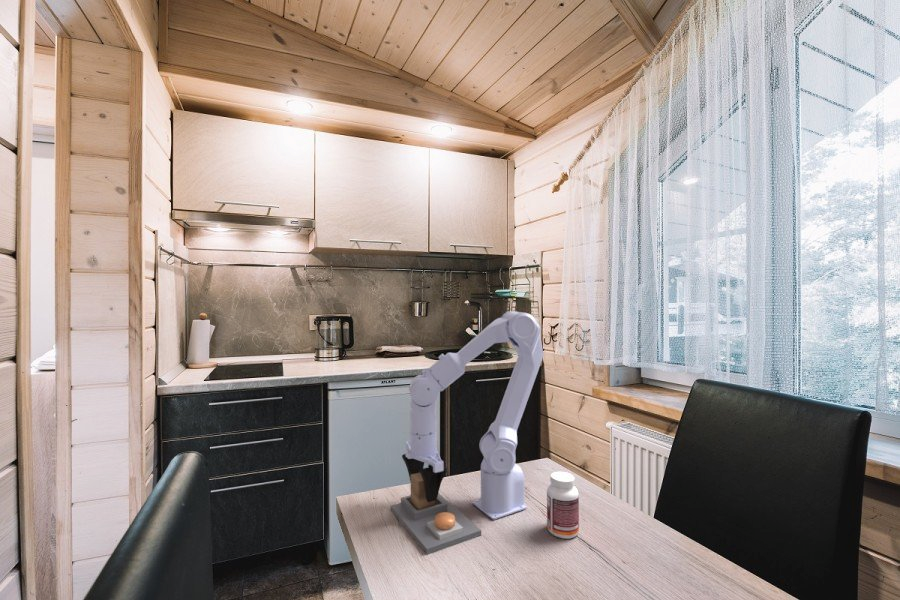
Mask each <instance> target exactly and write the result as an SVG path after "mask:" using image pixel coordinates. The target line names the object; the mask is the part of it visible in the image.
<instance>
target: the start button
mask: <svg viewBox="0 0 900 600" xmlns="http://www.w3.org/2000/svg"><path fill="white" fill-rule="evenodd" d="M454 525H455V516H454V515H453V514H452V513H448V512H442V513H439V514H437V515H436V516H435V526H436V527H438V528H440V529H450V528H452V527H453V526H454Z"/></svg>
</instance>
